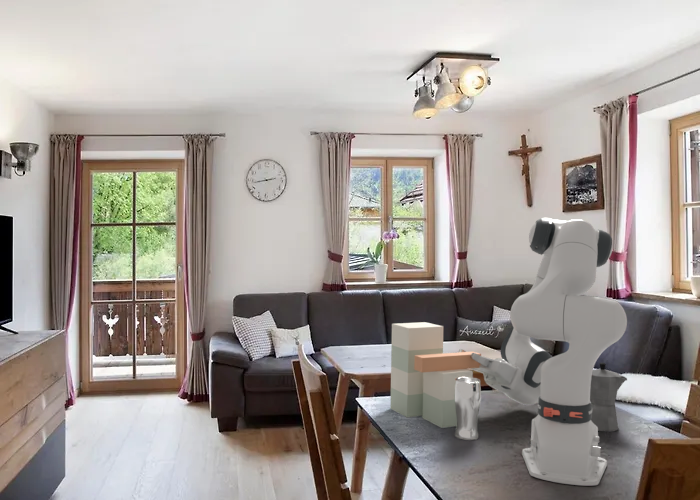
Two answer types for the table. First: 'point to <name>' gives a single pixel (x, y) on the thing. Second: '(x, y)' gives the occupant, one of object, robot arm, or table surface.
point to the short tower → (441, 396)
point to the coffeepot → (605, 398)
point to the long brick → (445, 362)
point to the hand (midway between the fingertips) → (466, 353)
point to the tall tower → (411, 364)
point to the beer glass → (467, 407)
